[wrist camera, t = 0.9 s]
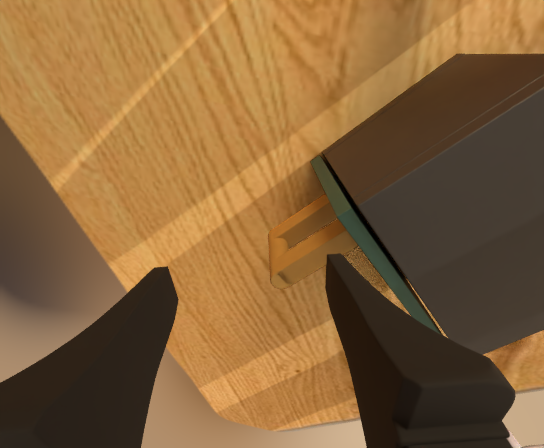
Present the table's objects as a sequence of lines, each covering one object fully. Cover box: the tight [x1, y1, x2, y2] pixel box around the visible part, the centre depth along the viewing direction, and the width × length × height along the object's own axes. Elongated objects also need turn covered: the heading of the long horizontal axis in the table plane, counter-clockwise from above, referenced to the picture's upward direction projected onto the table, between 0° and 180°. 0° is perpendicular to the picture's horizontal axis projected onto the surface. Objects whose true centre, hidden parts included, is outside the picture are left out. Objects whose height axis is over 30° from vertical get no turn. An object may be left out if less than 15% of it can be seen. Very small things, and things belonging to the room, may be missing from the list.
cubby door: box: [268, 155, 442, 335], centre depth 21 cm, size 6×16×8 cm, turn 38°
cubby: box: [322, 54, 544, 355], centre depth 19 cm, size 10×16×9 cm, turn 38°
